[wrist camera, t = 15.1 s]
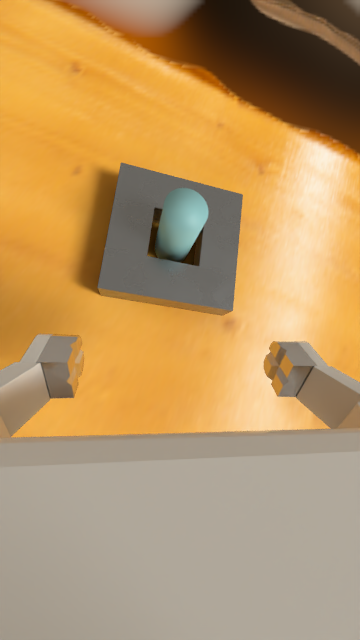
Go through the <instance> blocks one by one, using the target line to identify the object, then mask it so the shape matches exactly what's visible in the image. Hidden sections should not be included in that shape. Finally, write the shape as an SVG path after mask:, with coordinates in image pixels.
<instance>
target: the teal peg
mask: <svg viewBox="0 0 360 640" xmlns="http://www.w3.org/2000/svg"><path fill="white" fill-rule="evenodd" d="M208 212H209V211H208V206H207V203H206V201H205V200H204V198H203V197H202V196H201V195H200V194H199V193H198V192H196V191H194V190H192V189H188V188H178V189H175V190H173V191H171V192H170V193H169V194H168V195H167V196H166V198H165V201H164V205H163V210H162V214H161V219H160V223H159V228H158V232H157V237H156V242H155V253H156V255H157V257H158V258H159V259H164V260H169V261H174V262H179V263H181V262H182V261H184V259H185V258H186V256H187V255H188V253H189V251H190V249H191V247H192V246H193V244H194V242H195V240H196V238H197V237H198V235H199V233H200V231H201V230H202V228H203V226H204V224H205V222H206V221H207V218H208Z"/></svg>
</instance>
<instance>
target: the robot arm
mask: <svg viewBox="0 0 360 640" xmlns="http://www.w3.org/2000/svg"><path fill="white" fill-rule="evenodd" d="M81 346H82V340H81V337H80V336H79V335H59V334H38V335H37V336H36V337H35V339H34V340H33V342H32V343H31V345H30V346H29V348H28V349H27V351H26V353H25V354H24V356H23V357H22V359H21V360H20V362H15V363H13V364H11V365H9V366H8V367H6V368H4V369H2V370H0V640H360V382H358V381H356V380H354V379H353V378H351V377H349V376H347V375H346V374H344V373H342V372H340V371H339V370H337V369H335V368H333V367H328V365H327V364H326V363H325V362H324V361H323V359H322V358H321V357H320V356H319V355H318V354H317V352H316V351H315V350H314V349H313V348H312V346H311V345H310V344H309V343H307V342H280V341H273V342H272V343H271V345H270V347H269V349H270V353H269V354H268V355H267V356H266V357H265V360H264V370H265V373H266V375H267V377H269V378H270V379H271V380H272V384H271V385H272V387H273V388H274V390H275V392H276V394H277V396H280V397H296V398H297V399H298V400H299V401H300V402H301V403H303V404H304V405H305V406H306V407H307V408H308V409H309V410H310V411H312V412H313V413H314V414H315V415H316V416H317V417H318V418H320V419H321V420H322V421H323V422H324V423H325V424H326V425H328V426H329V427H330V428H331V429H305V430H270V431H234V432H197V433H161V434H125V435H89V436H53V437H17V438H11V436H12V435H13V434H14V433H15V432H16V431H17V430H18V429H20V428H21V427H22V426H23V425H24V424H25V423H26V422H27V421H28V420H29V419H30V418H31V417H32V416H33V415H34V414H36V413H37V412H38V411H39V410H40V409H41V408H42V407H43V406H44V405H45V404H46V403H47V402H48V401H49V400H50V398H74V396H75V393H76V390H77V387H78V377H80V376H81V375H82V371H83V366H84V354H83V352H82V351H81V350H80V348H81Z"/></svg>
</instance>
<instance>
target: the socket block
mask: <svg viewBox="0 0 360 640" xmlns="http://www.w3.org/2000/svg"><path fill="white" fill-rule="evenodd" d="M178 188H188V189H192V190H194V191H196V192H198V193H199V194H200V195H201V196H202V197H203V198H204V200H205V201H206V203H207V206H208V211H209V212H208V218H207V221H206V222H205V224H204V226H203V228H202V230H201V231H200V233H199V235H198V237H197V240H196V248H195V257H194V265H189V264H184V263H179V262H174V261H169V260H164V259H159V258H154V257H149V256H147V253H148V246H149V240H150V234H151V227H152V222H153V223H158V224H159V223H160V219H161V214H162V210H163V205H164V201H165V198H166V196H167V195H168V194H169V193H170V192H171V191H173V190H175V189H178ZM242 197H243V195H242V194H239V193H235V192H231V191H227V190H223V189H220V188H216V187H212V186H208V185H204V184H201V183H197V182H193V181H189V180H185V179H182V178H178V177H174V176H170V175H166V174H163V173H159V172H155V171H151V170H147V169H143V168H140V167H136V166H132V165H128V164H124V163H121V166H120V171H119V176H118V182H117V187H116V192H115V197H114V203H113V208H112V213H111V219H110V224H109V229H108V234H107V240H106V245H105V250H104V256H103V261H102V266H101V272H100V277H99V282H98V287H97V288H98V290H99V292H100V294H101V296H107V297H113V298H119V299H125V300H131V301H137V302H144V303H150V304H156V305H162V306H168V307H174V308H180V309H186V310H192V311H198V312H204V313H210V314H216V315H225V314H227V313H229V312H231V311H233V301H234V290H235V278H236V267H237V255H238V243H239V232H240V220H241V209H242Z"/></svg>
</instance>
